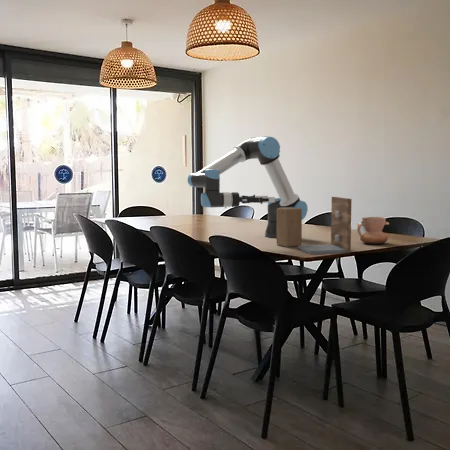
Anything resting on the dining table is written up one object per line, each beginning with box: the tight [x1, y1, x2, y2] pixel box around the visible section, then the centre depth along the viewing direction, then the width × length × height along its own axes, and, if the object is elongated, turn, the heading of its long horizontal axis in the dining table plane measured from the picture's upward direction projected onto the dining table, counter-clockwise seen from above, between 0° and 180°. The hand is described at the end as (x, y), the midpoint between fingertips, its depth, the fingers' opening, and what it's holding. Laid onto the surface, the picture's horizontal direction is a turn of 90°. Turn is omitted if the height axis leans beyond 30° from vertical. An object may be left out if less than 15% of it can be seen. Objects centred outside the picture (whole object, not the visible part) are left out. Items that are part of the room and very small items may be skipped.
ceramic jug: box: [356, 216, 390, 245], centre depth 283 cm, size 18×14×14 cm
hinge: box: [356, 220, 366, 234], centre depth 317 cm, size 17×5×10 cm, turn 178°
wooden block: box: [276, 207, 303, 248], centre depth 277 cm, size 10×10×20 cm
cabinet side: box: [330, 196, 352, 254], centre depth 261 cm, size 3×20×26 cm, turn 10°
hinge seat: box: [297, 243, 347, 255], centre depth 260 cm, size 18×18×2 cm
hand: (271, 199), depth 274 cm, fingers open, 13 cm apart
